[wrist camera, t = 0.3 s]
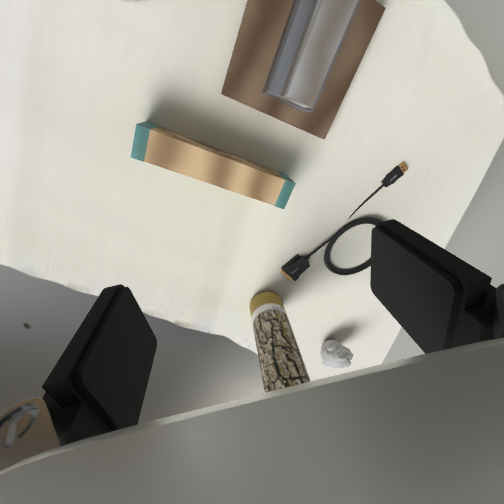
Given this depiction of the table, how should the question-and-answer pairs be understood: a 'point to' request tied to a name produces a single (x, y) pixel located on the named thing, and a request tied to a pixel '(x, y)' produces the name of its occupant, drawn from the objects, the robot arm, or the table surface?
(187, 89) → the table surface
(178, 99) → the table surface
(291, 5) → the fulcrum stand
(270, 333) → the bark log
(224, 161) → the oak beam
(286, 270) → the cable
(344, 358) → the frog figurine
